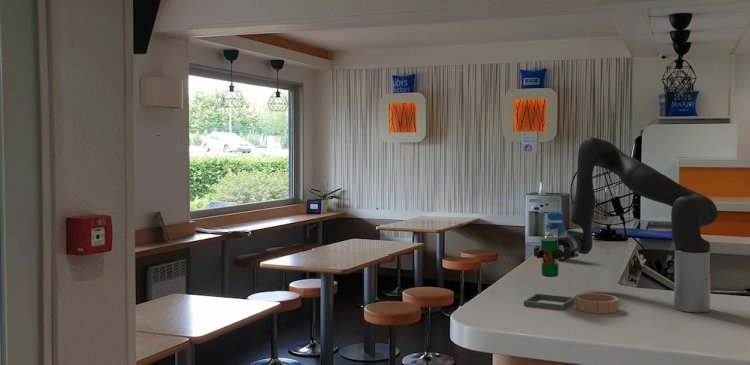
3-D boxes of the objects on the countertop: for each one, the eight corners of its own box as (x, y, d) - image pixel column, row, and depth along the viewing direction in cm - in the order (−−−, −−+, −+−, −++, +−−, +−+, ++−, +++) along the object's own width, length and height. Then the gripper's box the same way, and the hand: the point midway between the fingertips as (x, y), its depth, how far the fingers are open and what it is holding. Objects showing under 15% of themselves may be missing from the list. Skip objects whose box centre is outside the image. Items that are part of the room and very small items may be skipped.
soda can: (559, 277, 200) (558, 237, 199) (541, 277, 201) (541, 237, 200) (558, 274, 205) (557, 235, 204) (541, 274, 206) (540, 235, 205)
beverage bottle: (567, 260, 284) (567, 213, 283) (547, 260, 284) (547, 213, 283) (562, 257, 292) (562, 211, 291) (543, 257, 292) (543, 211, 292)
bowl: (621, 307, 198) (622, 295, 198) (613, 316, 188) (613, 303, 188) (580, 303, 204) (581, 291, 204) (570, 311, 194) (570, 299, 194)
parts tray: (574, 302, 205) (574, 297, 205) (563, 310, 195) (563, 305, 195) (536, 298, 212) (536, 293, 211) (523, 305, 201) (523, 300, 201)
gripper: (540, 235, 218) (523, 241, 204) (585, 237, 211) (571, 244, 196) (541, 258, 219) (524, 266, 204) (585, 261, 211) (571, 269, 197)
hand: (547, 255), depth 200 cm, fingers closed on soda can, 5 cm apart
